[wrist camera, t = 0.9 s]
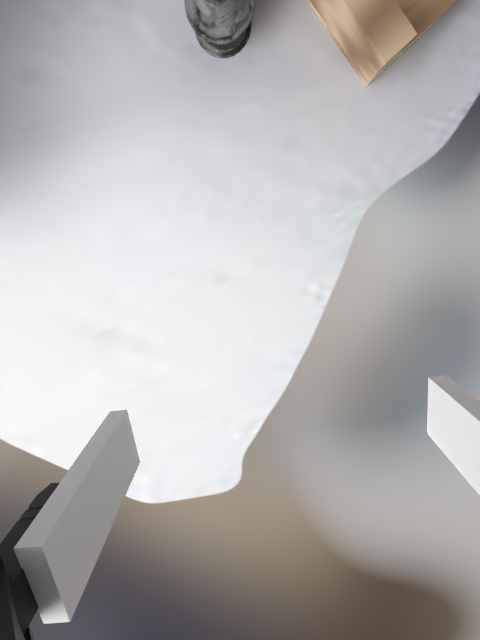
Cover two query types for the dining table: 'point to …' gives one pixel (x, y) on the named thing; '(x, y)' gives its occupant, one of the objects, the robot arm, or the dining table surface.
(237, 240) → the dining table surface
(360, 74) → the well block
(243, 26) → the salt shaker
